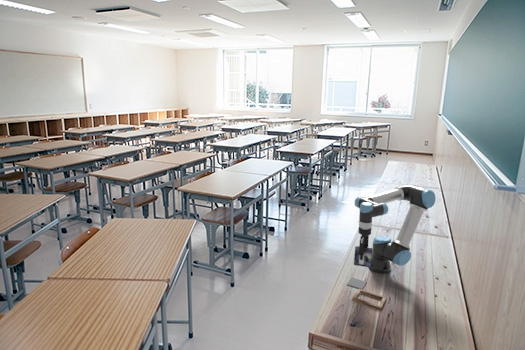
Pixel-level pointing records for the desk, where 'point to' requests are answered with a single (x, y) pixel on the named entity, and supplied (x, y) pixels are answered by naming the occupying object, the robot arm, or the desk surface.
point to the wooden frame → (378, 307)
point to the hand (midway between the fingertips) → (362, 261)
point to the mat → (356, 283)
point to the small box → (366, 257)
